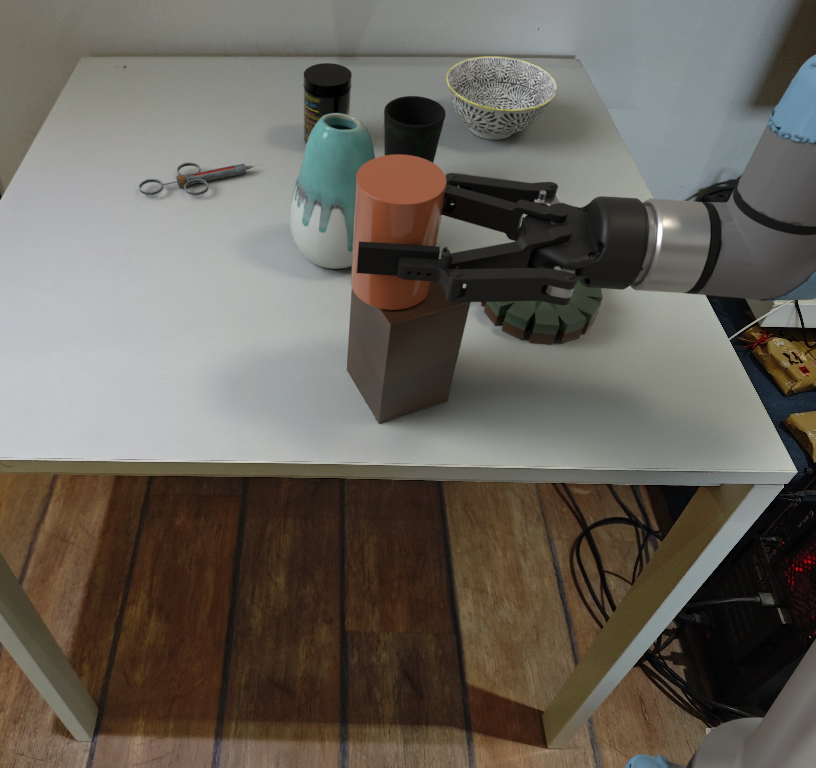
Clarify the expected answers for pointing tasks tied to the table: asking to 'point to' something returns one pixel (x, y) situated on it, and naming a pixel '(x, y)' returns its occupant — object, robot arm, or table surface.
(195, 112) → the table surface
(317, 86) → the supplement container
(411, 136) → the cup
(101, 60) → the table surface
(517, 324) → the segmented green ring
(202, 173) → the syringe
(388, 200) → the orange glossy cylinder
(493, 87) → the bowl
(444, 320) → the dark brown rectangular block
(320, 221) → the vase
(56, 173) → the table surface
